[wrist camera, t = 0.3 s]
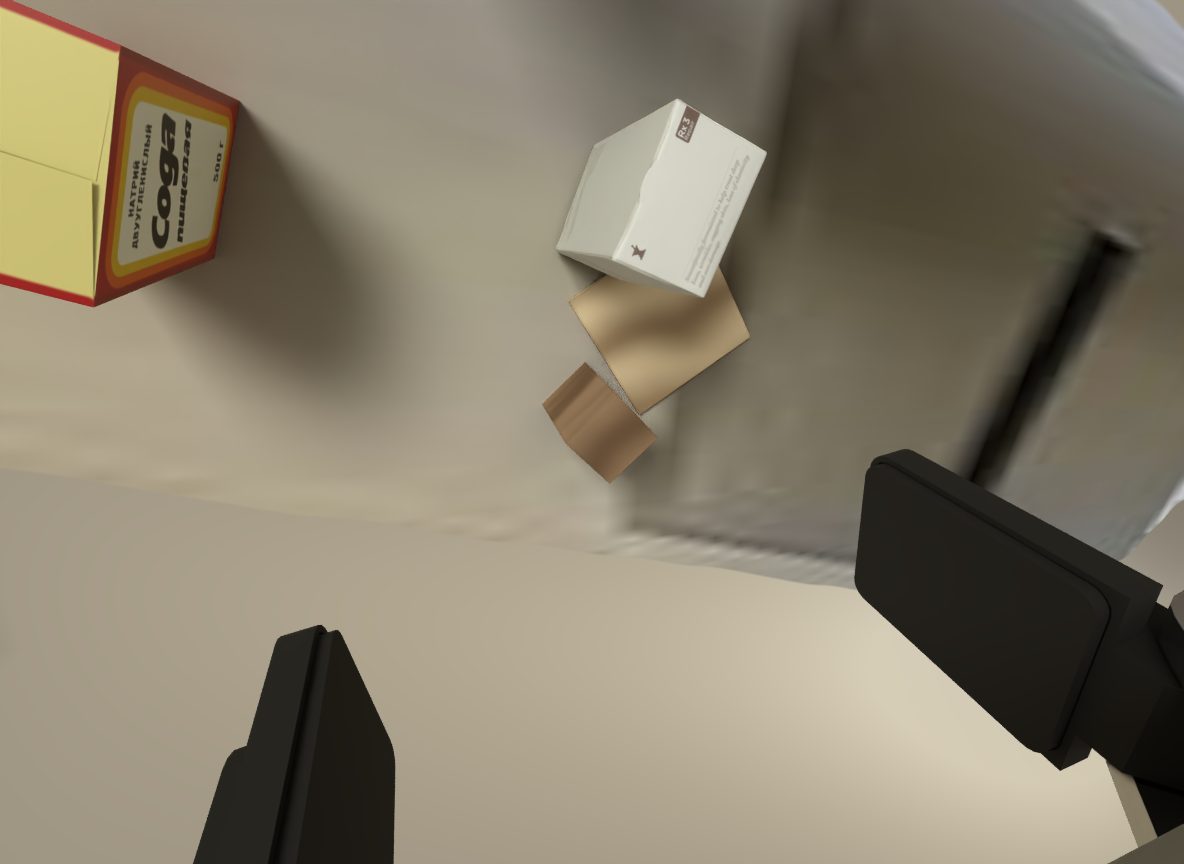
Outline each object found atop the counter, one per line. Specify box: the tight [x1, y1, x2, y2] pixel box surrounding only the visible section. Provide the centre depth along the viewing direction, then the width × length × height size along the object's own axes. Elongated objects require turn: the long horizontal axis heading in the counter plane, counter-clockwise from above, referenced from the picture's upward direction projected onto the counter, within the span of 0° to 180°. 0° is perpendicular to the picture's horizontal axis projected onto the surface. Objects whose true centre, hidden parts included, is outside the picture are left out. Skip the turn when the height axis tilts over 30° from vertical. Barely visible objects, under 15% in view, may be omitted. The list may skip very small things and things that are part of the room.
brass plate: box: [568, 265, 750, 415], centre depth 46 cm, size 12×12×1 cm
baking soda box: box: [0, 0, 240, 307], centre depth 26 cm, size 10×6×16 cm
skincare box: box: [556, 99, 767, 298], centre depth 34 cm, size 8×6×15 cm
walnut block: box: [542, 363, 658, 483], centre depth 44 cm, size 5×5×8 cm
